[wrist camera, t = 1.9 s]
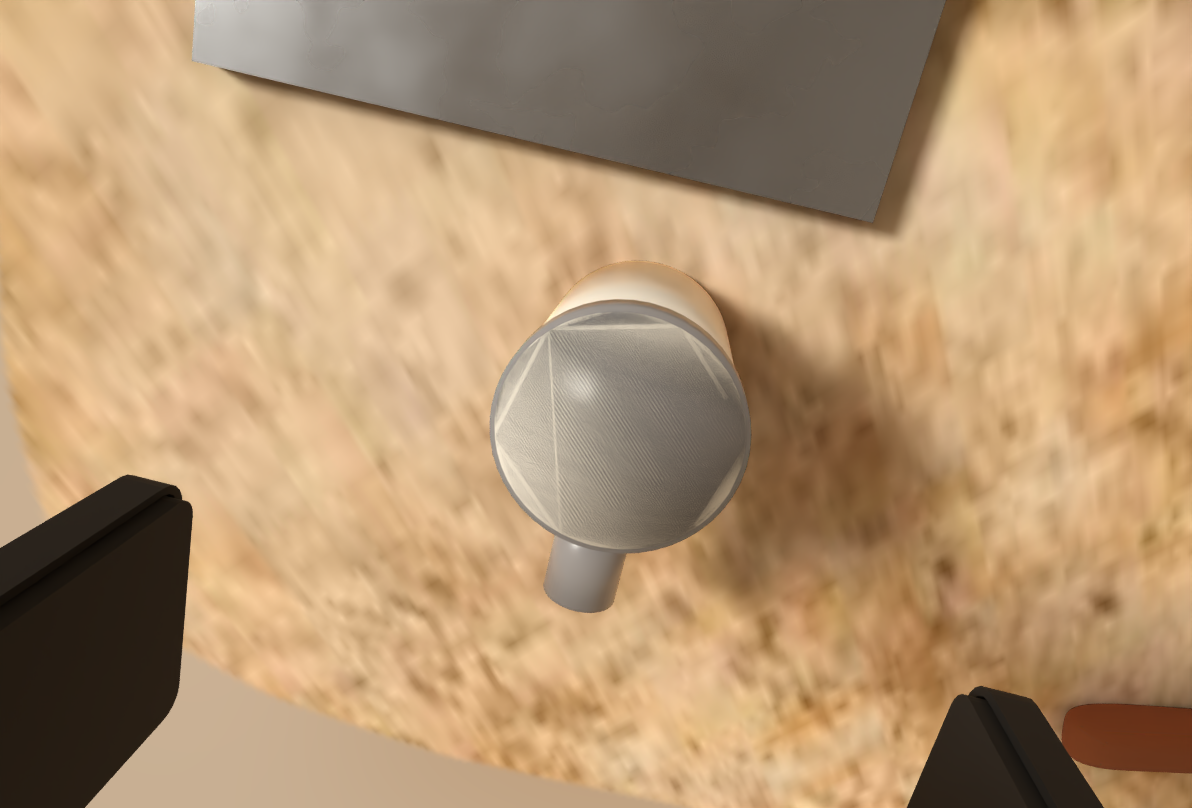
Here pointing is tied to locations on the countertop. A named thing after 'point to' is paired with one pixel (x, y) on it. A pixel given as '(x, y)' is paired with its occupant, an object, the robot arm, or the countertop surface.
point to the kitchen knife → (1130, 737)
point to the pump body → (621, 424)
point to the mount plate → (620, 78)
